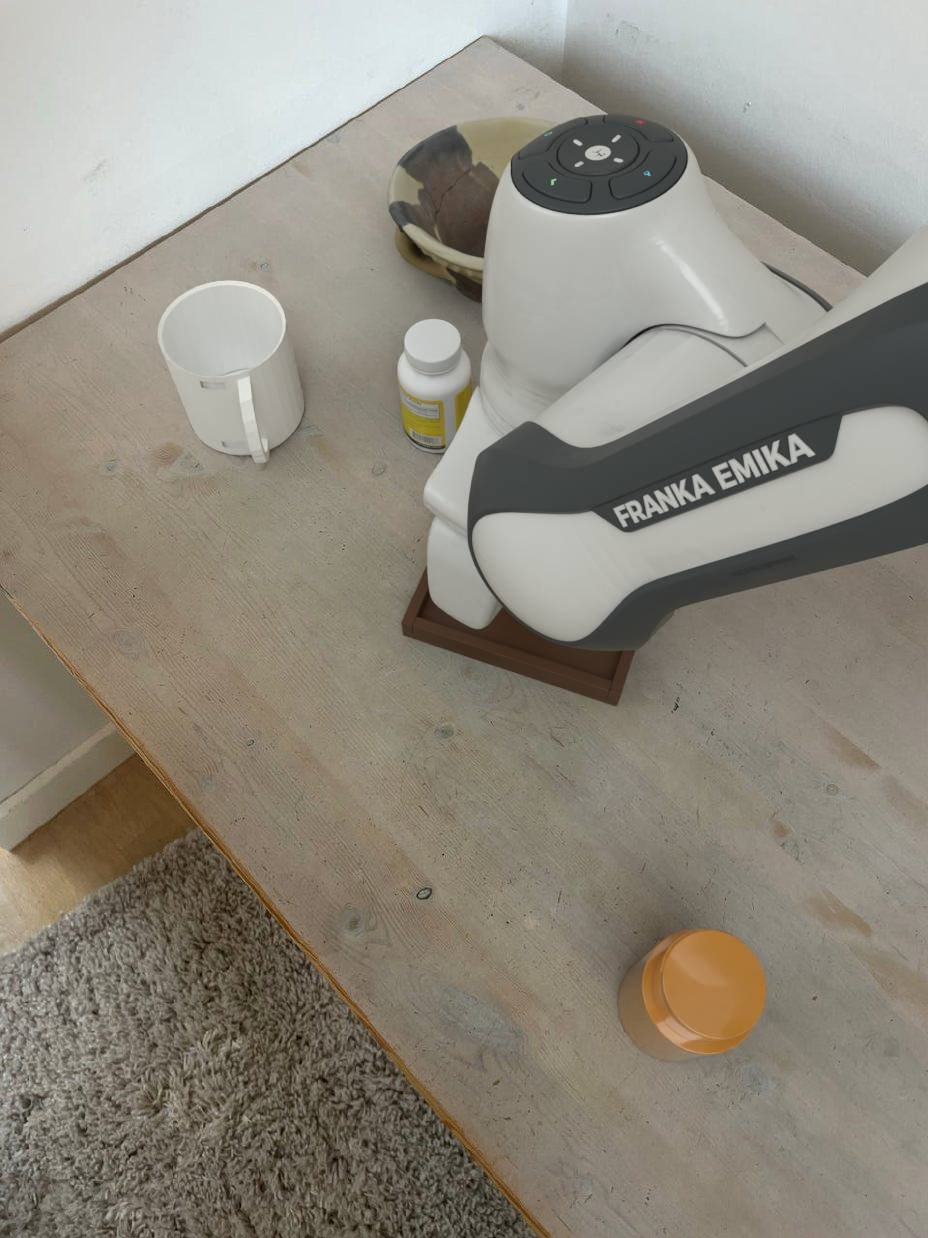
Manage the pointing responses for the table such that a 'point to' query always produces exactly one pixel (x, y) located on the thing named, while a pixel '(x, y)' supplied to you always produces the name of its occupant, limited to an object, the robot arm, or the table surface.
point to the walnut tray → (518, 649)
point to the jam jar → (692, 996)
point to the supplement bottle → (433, 384)
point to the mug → (233, 367)
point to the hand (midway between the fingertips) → (542, 543)
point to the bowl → (454, 195)
